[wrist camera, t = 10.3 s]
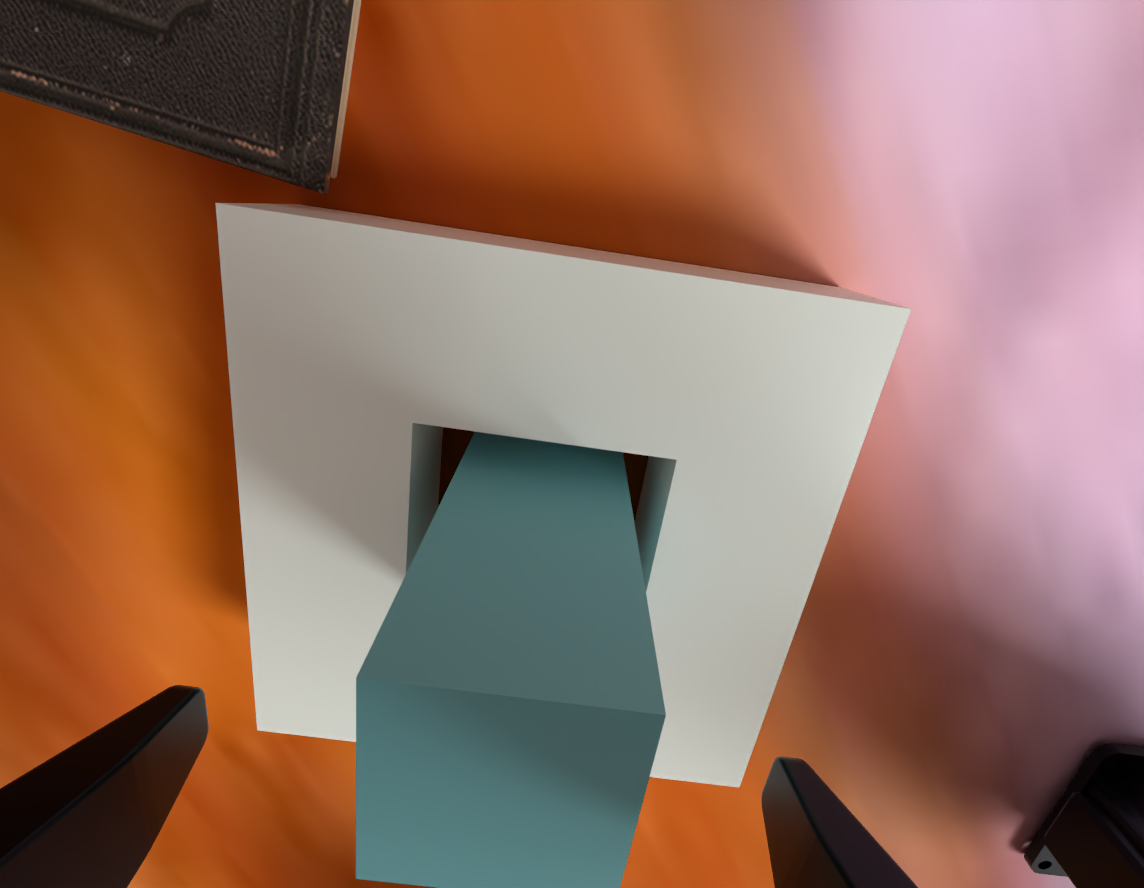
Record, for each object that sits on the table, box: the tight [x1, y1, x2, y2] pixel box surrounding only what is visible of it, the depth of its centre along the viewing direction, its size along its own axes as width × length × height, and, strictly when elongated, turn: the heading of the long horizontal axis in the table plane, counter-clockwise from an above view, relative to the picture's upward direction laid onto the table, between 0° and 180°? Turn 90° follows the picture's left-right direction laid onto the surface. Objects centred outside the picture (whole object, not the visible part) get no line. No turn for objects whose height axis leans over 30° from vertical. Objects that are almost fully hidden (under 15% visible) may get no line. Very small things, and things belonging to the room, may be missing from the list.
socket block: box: [215, 203, 911, 787], centre depth 16 cm, size 14×14×4 cm
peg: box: [356, 432, 666, 888], centre depth 13 cm, size 4×4×10 cm
